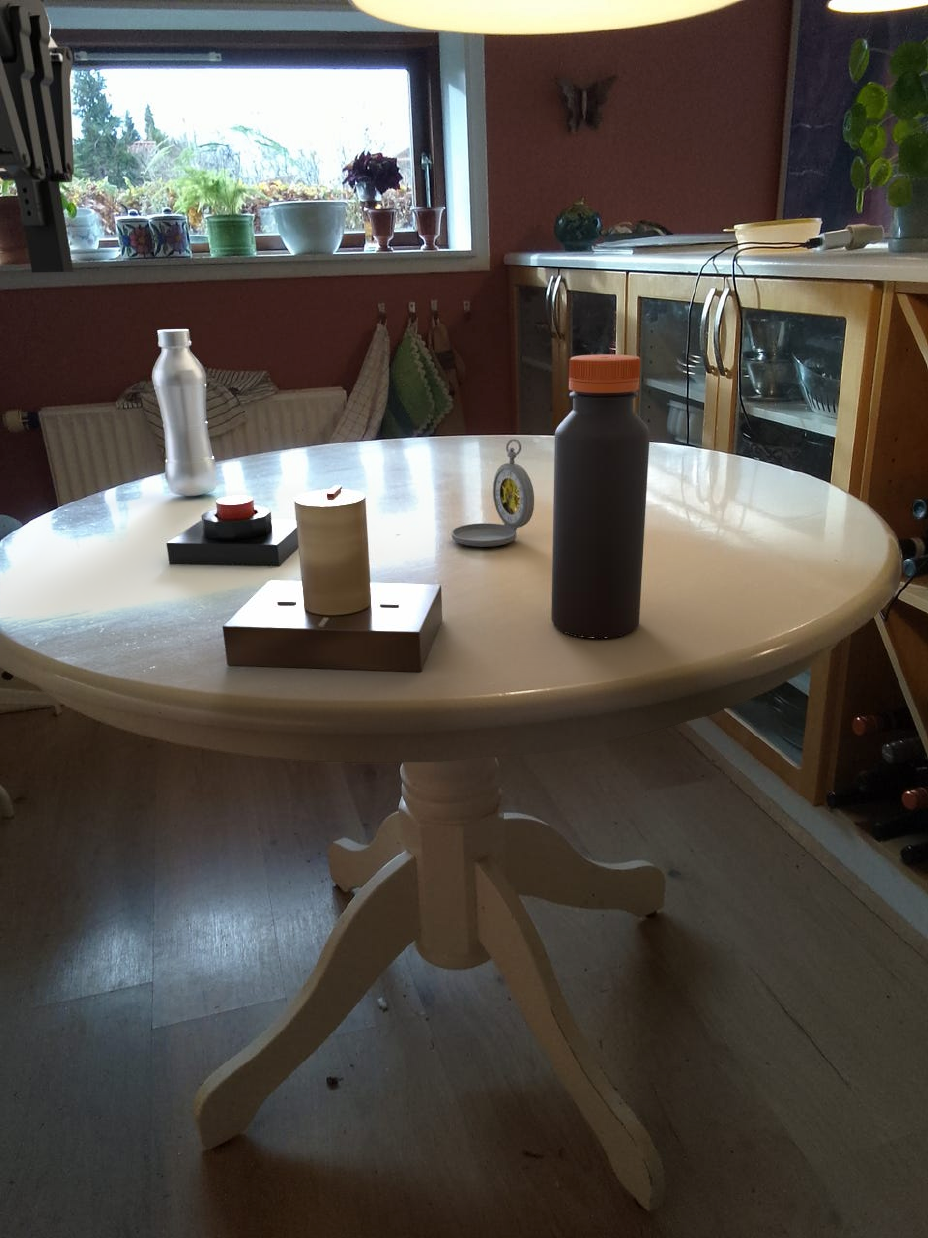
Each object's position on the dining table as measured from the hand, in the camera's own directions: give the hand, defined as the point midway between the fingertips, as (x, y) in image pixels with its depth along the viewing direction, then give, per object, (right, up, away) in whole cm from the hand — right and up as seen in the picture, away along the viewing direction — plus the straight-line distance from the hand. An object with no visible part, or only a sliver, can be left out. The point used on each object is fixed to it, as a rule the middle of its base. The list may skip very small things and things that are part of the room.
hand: (52, 271), depth 72 cm
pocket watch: (+36, -20, +20) cm, 46 cm away
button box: (+11, -21, +18) cm, 30 cm away
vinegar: (+43, -28, -2) cm, 52 cm away
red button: (+11, -18, +16) cm, 26 cm away
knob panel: (+24, -30, -5) cm, 38 cm away
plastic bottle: (-1, -12, +42) cm, 44 cm away
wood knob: (+24, -27, -6) cm, 36 cm away
